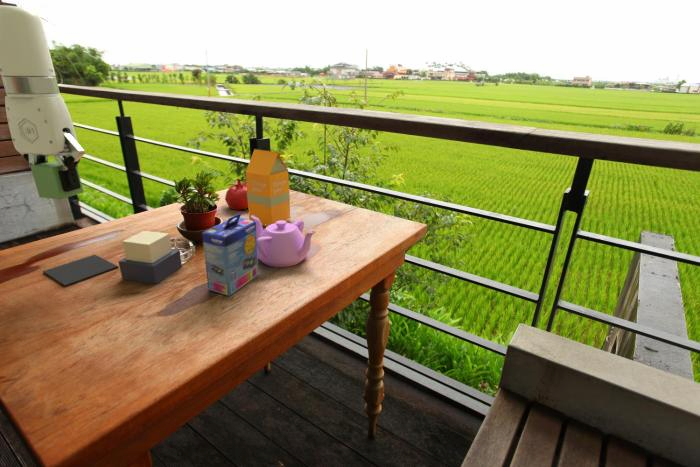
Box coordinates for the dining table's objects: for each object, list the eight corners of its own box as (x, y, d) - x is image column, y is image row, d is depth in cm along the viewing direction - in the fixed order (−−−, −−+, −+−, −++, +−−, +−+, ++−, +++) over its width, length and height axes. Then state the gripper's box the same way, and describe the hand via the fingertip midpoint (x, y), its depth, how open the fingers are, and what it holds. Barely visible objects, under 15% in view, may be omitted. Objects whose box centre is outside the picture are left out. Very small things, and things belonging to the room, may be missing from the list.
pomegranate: (264, 204, 124) (263, 176, 121) (245, 214, 116) (242, 183, 112) (240, 200, 128) (237, 173, 125) (219, 209, 120) (215, 179, 116)
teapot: (253, 249, 92) (251, 214, 89) (311, 245, 95) (311, 211, 92) (251, 272, 82) (248, 233, 78) (317, 267, 84) (316, 229, 81)
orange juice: (272, 228, 105) (267, 154, 98) (248, 221, 110) (243, 150, 102) (290, 220, 112) (288, 150, 104) (268, 214, 116) (263, 146, 108)
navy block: (122, 279, 78) (118, 261, 76) (150, 262, 85) (147, 245, 83) (156, 284, 76) (153, 266, 74) (182, 266, 83) (179, 249, 82)
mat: (43, 272, 80) (42, 271, 79) (95, 256, 87) (94, 254, 87) (65, 287, 74) (64, 285, 74) (118, 267, 82) (118, 266, 82)
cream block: (126, 259, 77) (122, 241, 75) (147, 247, 82) (144, 230, 81) (152, 263, 76) (148, 244, 74) (172, 251, 81) (169, 233, 80)
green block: (39, 197, 73) (29, 165, 71) (63, 190, 78) (55, 160, 75) (60, 199, 72) (51, 167, 70) (83, 192, 77) (76, 162, 74)
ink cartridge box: (230, 297, 72) (222, 224, 67) (206, 291, 74) (197, 220, 68) (260, 274, 81) (256, 208, 75) (238, 269, 82) (232, 204, 77)
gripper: (-29, 87, 66) (5, 190, 73) (51, 89, 62) (79, 197, 69) (16, 86, 73) (43, 181, 80) (90, 88, 69) (112, 187, 76)
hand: (60, 187), depth 74 cm, fingers closed on green block, 5 cm apart
